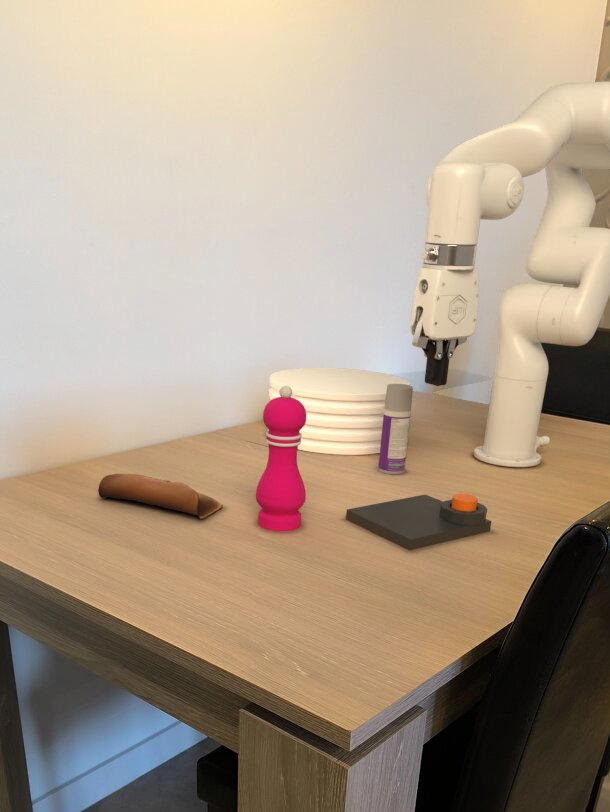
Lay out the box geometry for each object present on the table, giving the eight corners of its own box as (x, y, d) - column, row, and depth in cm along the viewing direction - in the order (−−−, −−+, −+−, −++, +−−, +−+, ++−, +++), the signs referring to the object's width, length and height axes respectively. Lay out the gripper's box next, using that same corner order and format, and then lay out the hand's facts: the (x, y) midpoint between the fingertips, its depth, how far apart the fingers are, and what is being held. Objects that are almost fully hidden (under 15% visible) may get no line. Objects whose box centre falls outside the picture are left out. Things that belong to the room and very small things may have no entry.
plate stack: (287, 415, 185) (289, 363, 180) (412, 428, 179) (418, 374, 174) (250, 445, 160) (252, 385, 156) (393, 461, 154) (400, 399, 149)
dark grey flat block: (425, 504, 132) (427, 483, 131) (492, 532, 122) (496, 509, 120) (345, 520, 124) (347, 497, 122) (410, 551, 113) (413, 527, 112)
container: (375, 466, 151) (383, 383, 144) (401, 467, 151) (410, 383, 145) (381, 474, 146) (389, 388, 140) (406, 474, 147) (416, 389, 140)
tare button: (463, 503, 123) (465, 492, 122) (481, 510, 120) (483, 499, 120) (446, 507, 121) (447, 495, 121) (463, 514, 119) (465, 502, 118)
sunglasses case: (226, 503, 127) (216, 472, 121) (206, 536, 123) (194, 506, 118) (129, 483, 134) (115, 453, 128) (107, 515, 130) (92, 485, 125)
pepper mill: (299, 535, 117) (308, 392, 108) (249, 530, 118) (254, 388, 109) (307, 519, 123) (316, 383, 115) (260, 514, 124) (265, 378, 116)
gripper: (431, 260, 114) (417, 393, 123) (503, 258, 122) (486, 383, 130) (394, 256, 120) (383, 384, 128) (465, 254, 128) (451, 375, 136)
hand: (435, 383), depth 129 cm, fingers closed
